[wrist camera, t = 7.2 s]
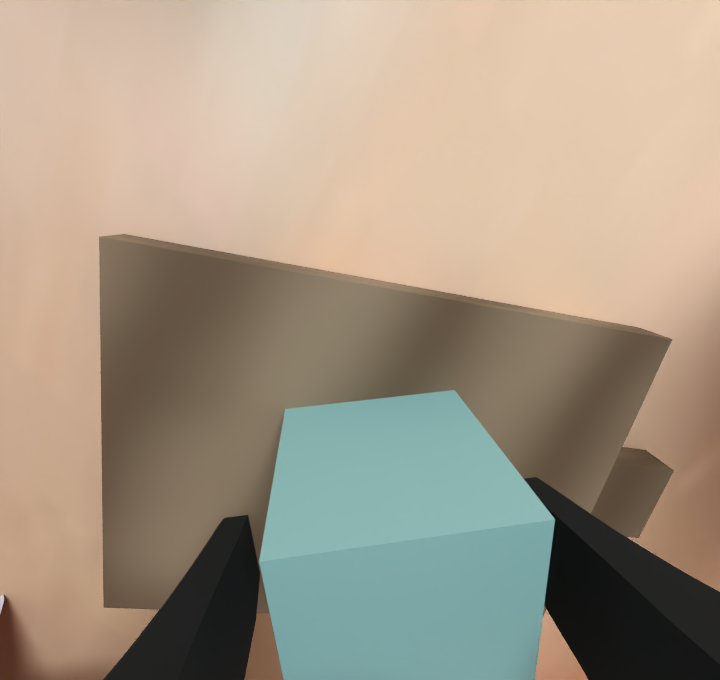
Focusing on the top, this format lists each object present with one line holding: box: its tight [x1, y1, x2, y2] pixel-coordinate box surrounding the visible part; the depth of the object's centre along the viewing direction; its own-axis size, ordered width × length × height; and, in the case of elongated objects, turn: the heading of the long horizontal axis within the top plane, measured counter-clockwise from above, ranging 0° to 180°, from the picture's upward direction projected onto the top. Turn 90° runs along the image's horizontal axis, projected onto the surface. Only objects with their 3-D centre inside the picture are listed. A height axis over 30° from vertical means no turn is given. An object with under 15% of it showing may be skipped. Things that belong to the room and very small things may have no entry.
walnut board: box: [99, 234, 674, 615], centre depth 13 cm, size 18×12×1 cm, turn 79°
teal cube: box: [259, 390, 555, 680], centre depth 9 cm, size 5×5×5 cm
